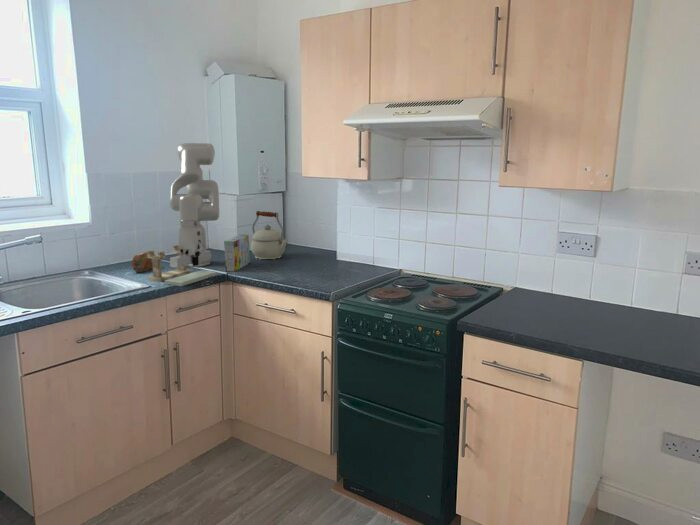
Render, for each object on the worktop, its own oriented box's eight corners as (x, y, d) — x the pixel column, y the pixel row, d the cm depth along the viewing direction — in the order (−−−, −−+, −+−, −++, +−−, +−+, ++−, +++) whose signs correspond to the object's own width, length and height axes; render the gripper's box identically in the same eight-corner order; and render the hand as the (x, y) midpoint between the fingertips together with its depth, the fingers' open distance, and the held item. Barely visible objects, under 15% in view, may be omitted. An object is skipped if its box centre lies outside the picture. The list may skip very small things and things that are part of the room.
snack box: (240, 262, 281) (239, 234, 278) (250, 263, 280) (249, 234, 277) (224, 271, 260) (223, 240, 257) (235, 272, 259) (234, 240, 256)
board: (201, 273, 256) (201, 270, 256) (217, 275, 252) (217, 271, 252) (165, 284, 234) (165, 280, 234) (181, 286, 231) (181, 282, 231)
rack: (179, 271, 259) (178, 244, 256) (191, 273, 256) (189, 245, 253) (148, 280, 241) (146, 251, 238) (160, 281, 238) (158, 252, 235)
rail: (203, 258, 252) (203, 250, 252) (210, 259, 251) (210, 250, 250) (170, 267, 233) (169, 257, 232) (177, 267, 231) (177, 258, 230)
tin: (137, 273, 254) (136, 256, 252) (131, 273, 254) (130, 255, 253) (155, 267, 268) (154, 250, 267) (149, 267, 269) (148, 250, 267)
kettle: (241, 257, 294) (240, 211, 289) (265, 252, 309) (264, 209, 304) (276, 263, 280) (275, 215, 275) (299, 257, 295) (298, 212, 290)
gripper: (210, 224, 238) (212, 265, 242) (180, 222, 245) (182, 262, 249) (199, 226, 232) (201, 268, 235) (168, 223, 238) (170, 264, 242)
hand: (191, 264), depth 242 cm, fingers closed on rail, 4 cm apart
